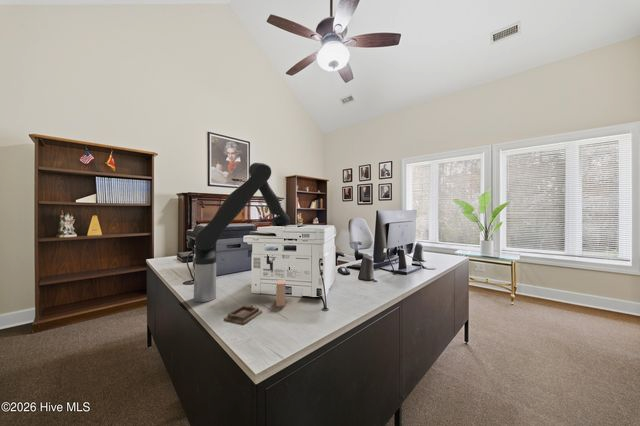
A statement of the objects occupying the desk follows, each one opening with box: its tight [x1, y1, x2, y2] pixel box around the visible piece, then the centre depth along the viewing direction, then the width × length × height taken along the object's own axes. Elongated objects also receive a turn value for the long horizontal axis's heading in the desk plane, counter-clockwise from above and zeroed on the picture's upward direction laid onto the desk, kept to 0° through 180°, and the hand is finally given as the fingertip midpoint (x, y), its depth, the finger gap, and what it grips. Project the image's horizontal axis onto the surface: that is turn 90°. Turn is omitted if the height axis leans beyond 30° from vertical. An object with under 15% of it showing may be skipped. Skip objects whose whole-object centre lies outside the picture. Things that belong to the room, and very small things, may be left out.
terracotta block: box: [275, 279, 287, 307], centre depth 110 cm, size 4×6×10 cm, turn 10°
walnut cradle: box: [223, 303, 263, 326], centre depth 96 cm, size 10×12×3 cm
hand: (280, 270), depth 117 cm, fingers open, 8 cm apart
